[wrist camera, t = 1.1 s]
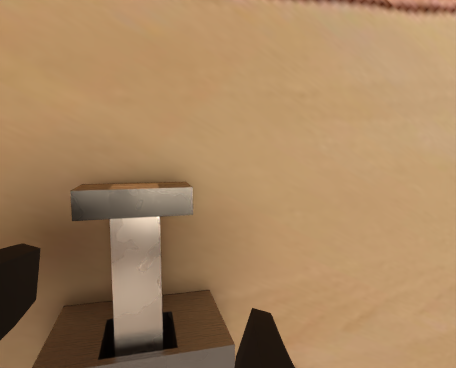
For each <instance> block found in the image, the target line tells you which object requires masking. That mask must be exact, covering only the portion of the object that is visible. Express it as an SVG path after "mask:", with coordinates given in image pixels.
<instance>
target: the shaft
mask: <svg viewBox="0 0 456 368" xmlns="http://www.w3.org/2000/svg"><path fill="white" fill-rule="evenodd" d="M71 210H72V221H83V220H102V219H110V240H111V265H112V289H113V314H114V339H115V357H120V356H127V355H134V354H140V353H147V352H153V351H160V350H163V325H162V282H161V239H160V217H161V216H180V215H193V187H192V186H190V185H189V184H188V183H187V182H159V183H120V184H82V185H80V186H78V187H77V188H75V189H73V190H71Z"/></svg>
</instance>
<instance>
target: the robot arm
mask: <svg viewBox="0 0 456 368" xmlns="http://www.w3.org/2000/svg"><path fill="white" fill-rule="evenodd" d="M39 259H40V248H37V247H34V246H30V245H26V244H19V245H14V246H10V247H7V248H3V249H0V340H1V339H2V338H3V337H4V336H5V335H6V334H7V333H8V332H9V331H10V330H11V329H12V328H13V327H14V326H15V325H16V324H17V323H18V321H19V320H20V319H21V318H22V317H23V315H24V314H25V313H26V312H27V310H28V309H29V308H30V307H31V305H32V304H33V303H34V302H35V300H36V294H37V282H38V271H39ZM234 368H295V367H294V365H293V363H292V361H291V359H290V357H289V355H288V353H287V350H286V348H285V346H284V344H283V341H282V339H281V337H280V334H279V332H278V329H277V327H276V324H275V322H274V319H273V317H272V315H271V313H268V312H265V311H261V310H258V309H254V308H252V310H251V313H250V316H249V319H248V322H247V325H246V328H245V331H244V334H243V337H242V340H241V343H240V346H239V349H238V352H237V355H236V361H235V367H234Z"/></svg>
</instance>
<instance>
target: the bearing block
mask: <svg viewBox="0 0 456 368" xmlns="http://www.w3.org/2000/svg"><path fill="white" fill-rule="evenodd" d="M162 325H163V350H160V351H153V352H147V353H140V354H134V355H127V356H120V357H115V339H114V314H113V301H107V302H98V303H89V304H80V305H71V306H64V307H63V309H62V311H61V313H60V315H59V317H58V318H57V320H56V322H55V324H54V326H53V328H52V330H51V332H50V334H49V336H48V338H47V340H46V342H45V344H44V346H43V348H42V350H41V351H40V353H39V355H38V357H37V359H36V361H35V363H34V365H33V367H32V368H234V367H235V344H234V342H233V340H232V338H231V336H230V333H229V331H228V329H227V327H226V325H225V323H224V320H223V318H222V316H221V314H220V312H219V310H218V307H217V305H216V303H215V301H214V299H213V297H212V294H211V292H210V290H206V291H197V292H188V293H179V294H170V295H162Z"/></svg>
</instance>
